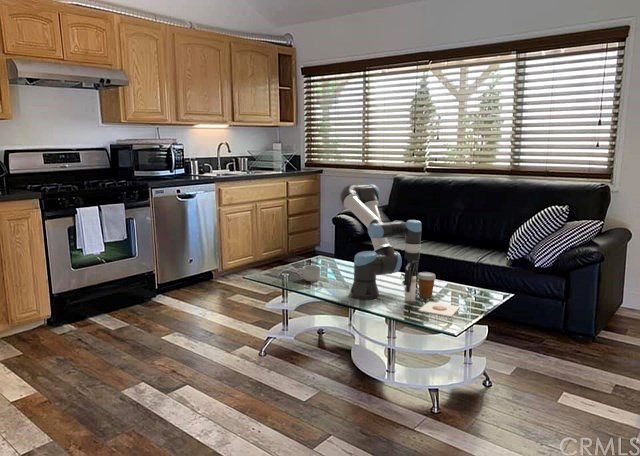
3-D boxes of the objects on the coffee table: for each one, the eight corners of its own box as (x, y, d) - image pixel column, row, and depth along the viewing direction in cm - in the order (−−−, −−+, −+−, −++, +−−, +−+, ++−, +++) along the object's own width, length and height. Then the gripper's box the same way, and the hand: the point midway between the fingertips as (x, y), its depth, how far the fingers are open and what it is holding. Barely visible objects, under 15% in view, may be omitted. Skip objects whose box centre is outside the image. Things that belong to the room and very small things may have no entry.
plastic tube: (403, 300, 248) (404, 277, 245) (406, 297, 252) (408, 274, 250) (413, 301, 245) (414, 278, 243) (416, 299, 249) (417, 276, 247)
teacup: (320, 278, 296) (320, 265, 295) (320, 283, 286) (320, 269, 284) (297, 277, 297) (297, 264, 295) (296, 282, 286) (296, 269, 285)
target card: (418, 311, 238) (418, 309, 238) (428, 302, 252) (428, 301, 252) (451, 317, 230) (451, 315, 230) (460, 307, 244) (460, 306, 244)
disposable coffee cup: (417, 298, 259) (418, 276, 257) (416, 292, 268) (417, 271, 266) (435, 299, 258) (436, 276, 256) (433, 293, 267) (435, 272, 265)
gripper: (413, 255, 235) (411, 302, 239) (425, 249, 250) (423, 293, 254) (398, 253, 238) (396, 299, 242) (411, 247, 254) (409, 290, 258)
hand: (410, 296), depth 248 cm, fingers closed on plastic tube, 5 cm apart
